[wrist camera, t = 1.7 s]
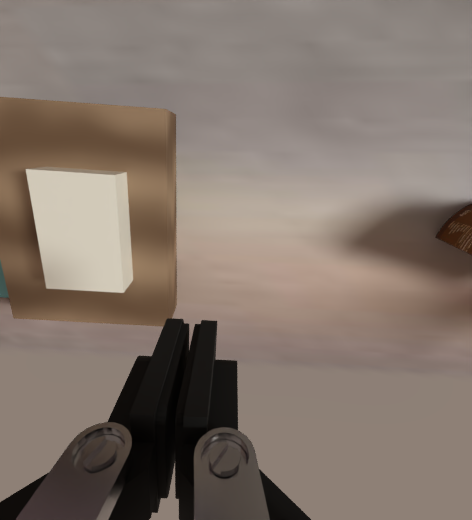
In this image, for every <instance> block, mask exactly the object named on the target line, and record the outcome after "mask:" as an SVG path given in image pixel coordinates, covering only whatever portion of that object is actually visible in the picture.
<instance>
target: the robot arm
mask: <svg viewBox="0 0 472 520" xmlns="http://www.w3.org/2000/svg"><path fill="white" fill-rule="evenodd" d="M216 336H217V321H207V320H202V321H201V324H195V327H194V332H193V336H192V341H191V345H190V350H189V324H185V323H184V321H183V319H171V318H167V320H166V322H165V324H164V327H163V329H162V332H161V335H160V337H159V340H158V342H157V345H156V347H155V350H154V352H153V355H152V356H138V357H137V359H136V361H135V363H134V366H133V368H132V370H131V372H130V374H129V376H128V378H127V381H126V383H125V385H124V387H123V389H122V392H121V394H120V396H119V398H118V400H117V402H116V405H115V407H114V409H113V411H112V413H111V416H110V418H109V420H108V422H104V423H100V424H96V425H93V426H91V427H89V428H87V429H85V430H84V431H82V432H81V433H80V434H78V435H77V436H76V437H75V438H74V440H73V441H72V442H71V443H70V444H69V446H68V447H67V449H66V450H65V451H64V453H63V454H62V455H61V457H60V458H59V459H58V461H57V462H56V464H55V465H54V466H53V468H52V469H51V471H50V472H49V473H47V474H46V475H44V476H42V477H41V478H39V479H37V480H36V481H34V482H32V483H31V484H29V485H28V486H26V487H24V488H23V489H21V490H19V491H18V492H16V493H14V494H13V495H11V496H10V497H8V498H6V499H5V500H3V501H1V502H0V520H149V519H150V518H151V514H152V512H155V513H157V512H158V508H159V504H160V499H161V498H167V497H168V494H169V490H170V484H171V479H172V474H173V468H174V463H175V476H176V477H175V482H176V483H175V487H176V499H179V520H311V519H310V518H309V517H308V516H307V515H306V514H305V513H304V512H303V511H301V509H300V508H299V507H298V506H296V504H295V503H293V501H291V500H290V499H289V498H288V497H287V496H286V495H285V494H284V493H283V492H282V491H281V490H280V489H279V488H278V487H277V486H276V485H275V484H274V483H273V482H272V481H271V480H270V479H269V478H268V477H267V476H265V474H264V473H263V472H262V471H261V470H260V469H259V467H258V463H257V459H256V453H255V450H254V447H253V445H252V443H251V441H250V440H249V439H248V437H247V436H246V435H244V434H242V433H241V432H240V431H238V404H237V403H238V399H237V361H231V360H215V356H216Z"/></svg>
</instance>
